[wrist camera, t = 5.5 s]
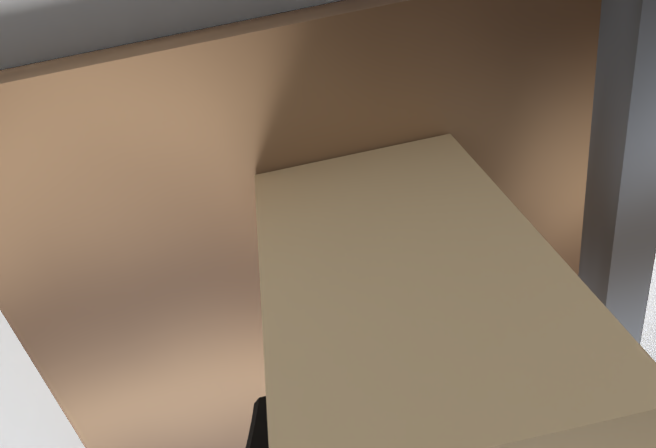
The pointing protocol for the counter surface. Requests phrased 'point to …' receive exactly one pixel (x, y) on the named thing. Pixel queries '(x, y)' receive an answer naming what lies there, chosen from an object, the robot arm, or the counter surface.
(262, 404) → the robot arm
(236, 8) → the counter surface
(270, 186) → the box
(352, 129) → the tan tray
